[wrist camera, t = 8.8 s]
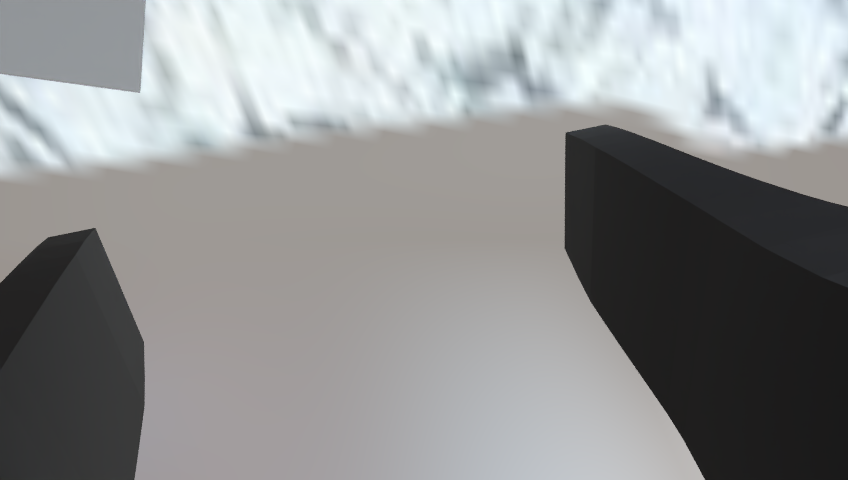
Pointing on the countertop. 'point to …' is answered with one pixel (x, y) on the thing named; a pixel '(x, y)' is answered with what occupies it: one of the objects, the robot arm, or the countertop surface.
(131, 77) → the slate mat
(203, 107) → the countertop surface
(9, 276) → the robot arm
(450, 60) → the countertop surface
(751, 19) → the countertop surface
